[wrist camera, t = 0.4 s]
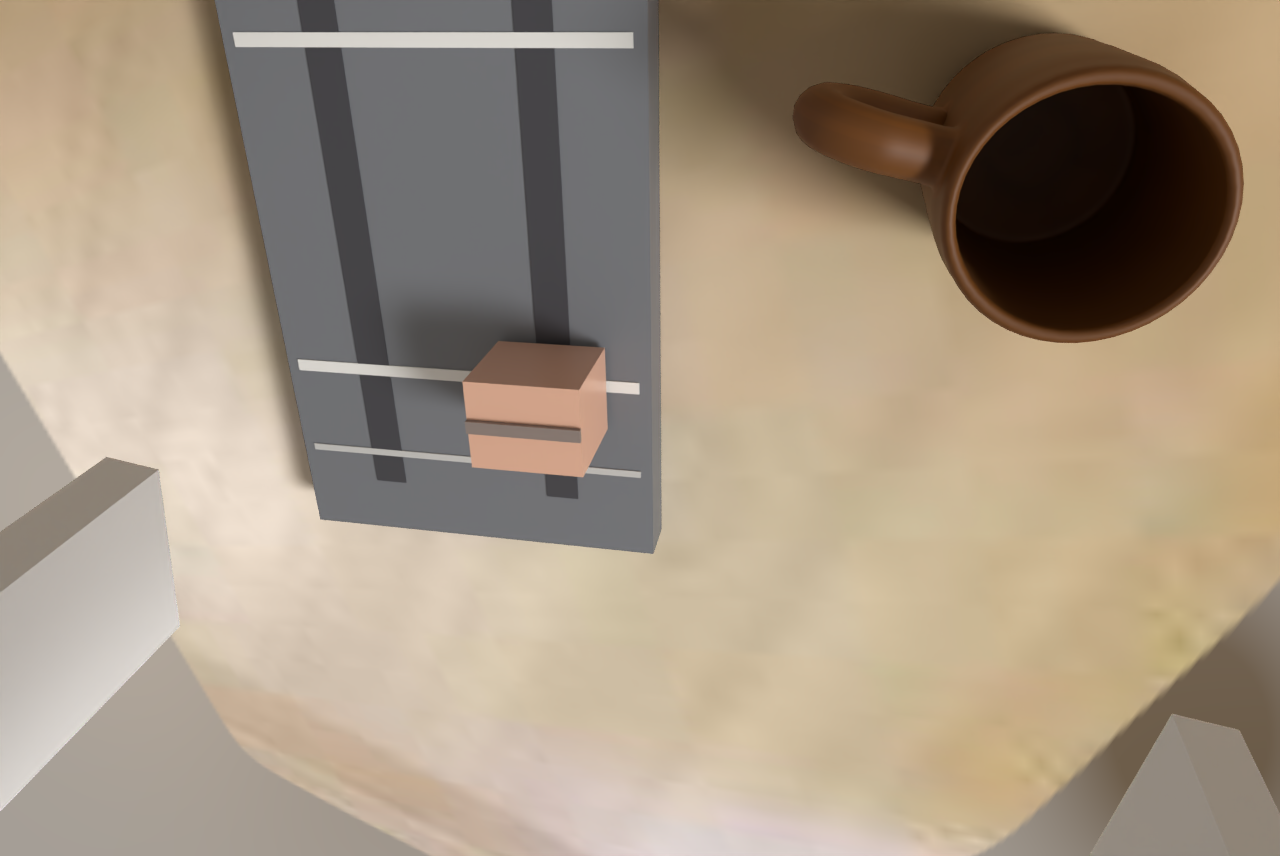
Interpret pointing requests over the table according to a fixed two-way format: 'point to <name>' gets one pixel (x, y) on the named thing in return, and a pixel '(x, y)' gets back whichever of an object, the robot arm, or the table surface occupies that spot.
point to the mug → (1053, 180)
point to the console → (458, 242)
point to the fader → (536, 408)
